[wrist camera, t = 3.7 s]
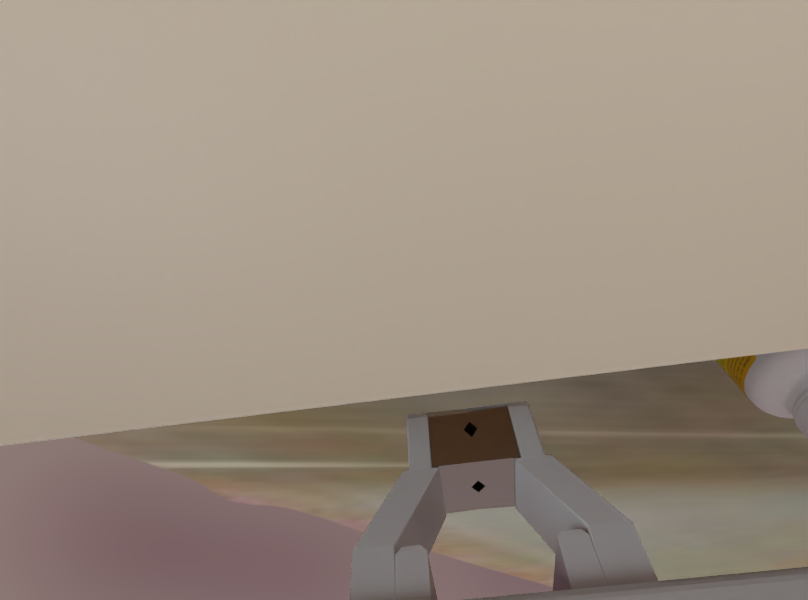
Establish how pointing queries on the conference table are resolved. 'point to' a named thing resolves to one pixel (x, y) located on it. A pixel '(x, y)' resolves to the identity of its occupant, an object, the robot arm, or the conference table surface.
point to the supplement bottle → (774, 383)
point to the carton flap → (387, 199)
